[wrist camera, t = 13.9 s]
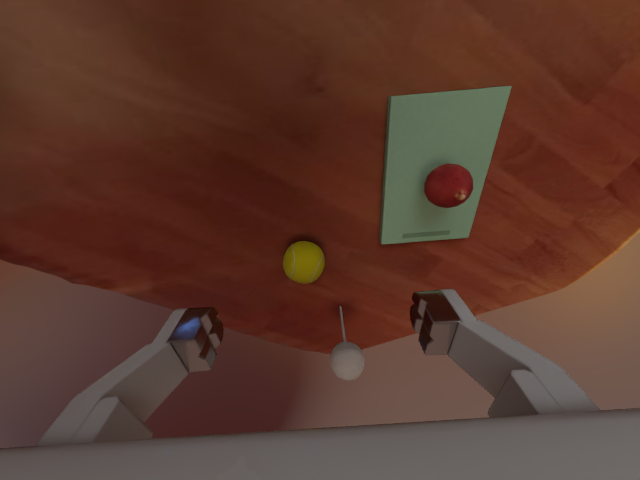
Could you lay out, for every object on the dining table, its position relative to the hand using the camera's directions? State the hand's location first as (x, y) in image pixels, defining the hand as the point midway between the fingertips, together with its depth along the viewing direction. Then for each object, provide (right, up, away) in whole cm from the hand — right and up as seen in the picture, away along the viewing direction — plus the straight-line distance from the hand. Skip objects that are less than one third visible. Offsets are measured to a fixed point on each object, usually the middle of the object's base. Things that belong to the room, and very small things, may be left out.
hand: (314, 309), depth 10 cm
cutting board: (+17, +13, +27) cm, 34 cm away
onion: (+17, +12, +26) cm, 33 cm away
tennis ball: (-3, +1, +33) cm, 33 cm away
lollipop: (+5, -11, +41) cm, 43 cm away
